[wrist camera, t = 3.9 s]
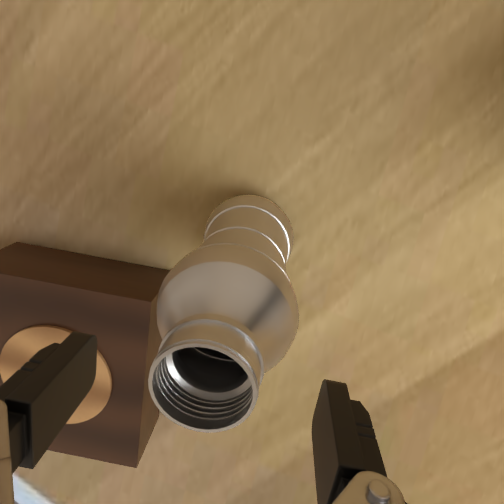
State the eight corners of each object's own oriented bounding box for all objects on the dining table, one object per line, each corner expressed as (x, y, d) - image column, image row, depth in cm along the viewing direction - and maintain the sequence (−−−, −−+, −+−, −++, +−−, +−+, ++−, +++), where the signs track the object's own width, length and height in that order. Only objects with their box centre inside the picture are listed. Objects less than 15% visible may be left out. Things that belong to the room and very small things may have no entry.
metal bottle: (225, 176, 31) (125, 269, 12) (306, 206, 31) (336, 345, 12) (201, 249, 33) (84, 427, 14) (277, 277, 33) (263, 489, 14)
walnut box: (17, 241, 34) (-41, 267, 28) (174, 271, 34) (149, 303, 28) (22, 390, 39) (-25, 439, 33) (158, 417, 39) (135, 471, 33)
